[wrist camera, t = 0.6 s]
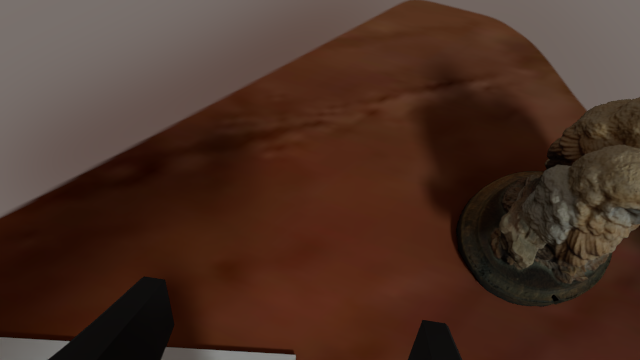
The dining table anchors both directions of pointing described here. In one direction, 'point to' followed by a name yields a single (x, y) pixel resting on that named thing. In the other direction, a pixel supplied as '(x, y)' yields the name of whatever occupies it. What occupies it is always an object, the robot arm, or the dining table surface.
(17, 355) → the mat
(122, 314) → the robot arm
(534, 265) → the rock sculpture
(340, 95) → the dining table surface
